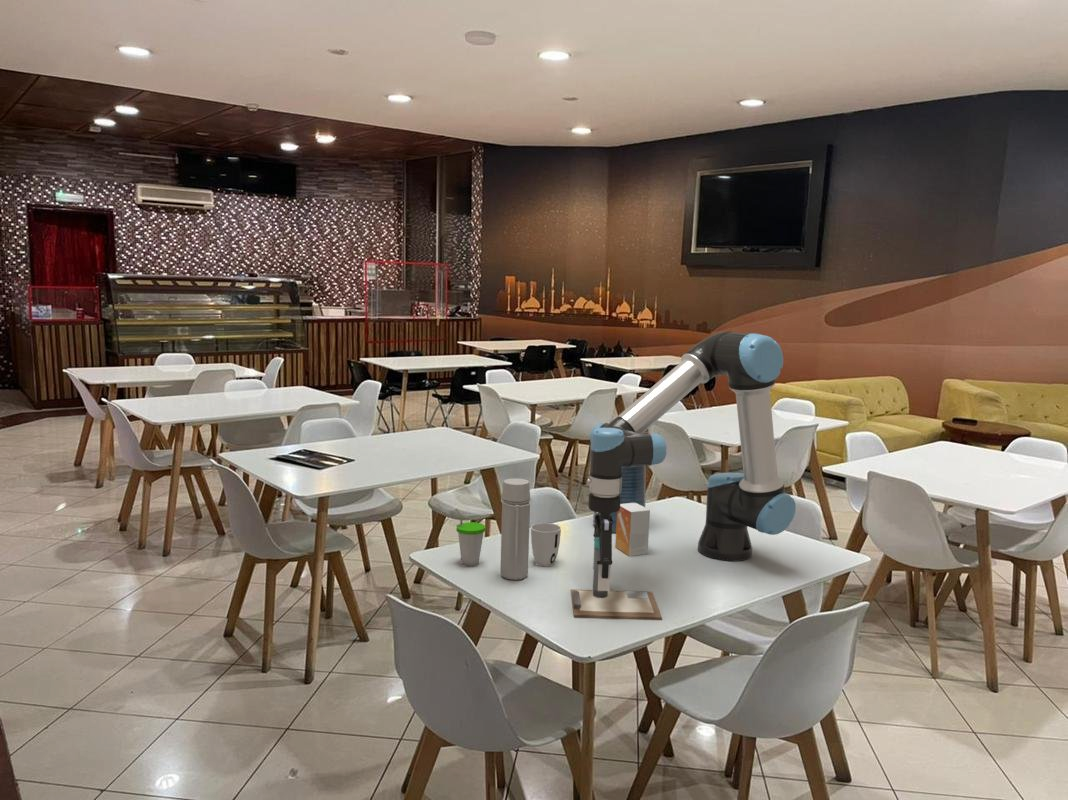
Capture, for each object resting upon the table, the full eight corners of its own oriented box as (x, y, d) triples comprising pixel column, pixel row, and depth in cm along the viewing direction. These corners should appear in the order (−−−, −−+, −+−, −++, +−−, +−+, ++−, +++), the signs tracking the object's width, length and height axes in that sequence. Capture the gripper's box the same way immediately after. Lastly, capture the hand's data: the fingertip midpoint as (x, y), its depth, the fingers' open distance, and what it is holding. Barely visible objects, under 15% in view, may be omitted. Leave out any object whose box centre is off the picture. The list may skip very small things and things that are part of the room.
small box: (614, 547, 224) (616, 503, 222) (633, 545, 226) (636, 502, 225) (628, 556, 217) (631, 511, 215) (648, 554, 219) (650, 509, 217)
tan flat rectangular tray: (651, 593, 190) (652, 587, 190) (661, 619, 176) (662, 613, 175) (570, 591, 190) (570, 585, 190) (573, 617, 175) (574, 610, 175)
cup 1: (490, 564, 208) (492, 509, 205) (469, 571, 202) (470, 515, 200) (471, 556, 213) (472, 503, 211) (449, 563, 207) (450, 509, 205)
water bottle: (498, 570, 203) (500, 477, 199) (528, 570, 203) (531, 478, 200) (499, 584, 194) (502, 486, 190) (531, 584, 194) (534, 487, 191)
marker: (607, 592, 189) (609, 536, 187) (608, 598, 185) (611, 541, 183) (591, 591, 189) (593, 536, 187) (593, 597, 185) (595, 541, 183)
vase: (586, 519, 250) (590, 423, 246) (633, 517, 254) (638, 422, 250) (602, 535, 235) (607, 433, 230) (652, 533, 238) (658, 432, 234)
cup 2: (556, 569, 205) (558, 533, 203) (526, 566, 206) (528, 530, 205) (561, 559, 213) (563, 524, 211) (533, 556, 214) (534, 521, 213)
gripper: (585, 480, 195) (582, 560, 198) (593, 507, 171) (589, 599, 174) (615, 480, 195) (611, 561, 199) (627, 508, 171) (622, 600, 174)
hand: (601, 579), depth 186 cm, fingers open, 13 cm apart
